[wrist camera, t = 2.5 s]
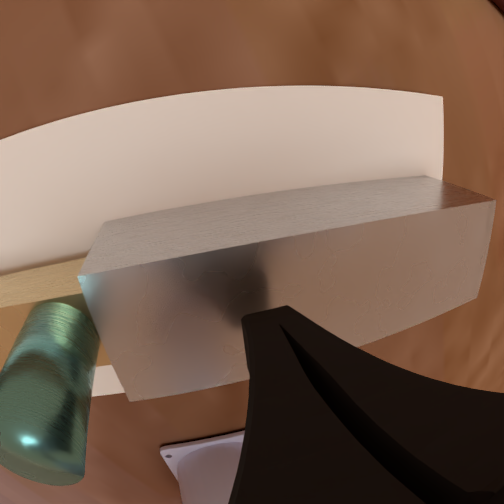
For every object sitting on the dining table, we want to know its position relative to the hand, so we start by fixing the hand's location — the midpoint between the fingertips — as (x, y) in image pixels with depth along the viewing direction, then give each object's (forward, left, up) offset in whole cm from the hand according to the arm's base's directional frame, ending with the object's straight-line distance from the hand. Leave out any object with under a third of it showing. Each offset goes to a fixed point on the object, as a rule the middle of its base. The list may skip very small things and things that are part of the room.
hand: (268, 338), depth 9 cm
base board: (0, +5, -7) cm, 8 cm away
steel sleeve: (0, -3, -6) cm, 7 cm away
